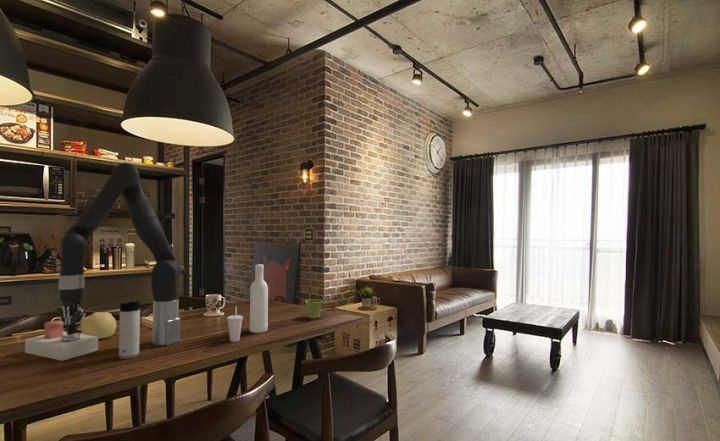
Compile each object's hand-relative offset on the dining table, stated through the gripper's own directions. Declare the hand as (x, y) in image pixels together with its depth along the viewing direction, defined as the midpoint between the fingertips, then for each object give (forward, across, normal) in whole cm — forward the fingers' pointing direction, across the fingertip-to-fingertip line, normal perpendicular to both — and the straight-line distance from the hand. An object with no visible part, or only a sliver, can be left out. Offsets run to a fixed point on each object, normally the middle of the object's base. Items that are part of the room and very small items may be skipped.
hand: (70, 334), depth 136 cm
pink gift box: (+2, +10, 0) cm, 11 cm away
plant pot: (+8, -56, -84) cm, 101 cm away
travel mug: (+7, -23, -6) cm, 25 cm away
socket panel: (+7, +5, 0) cm, 9 cm away
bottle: (+8, -45, -52) cm, 69 cm away
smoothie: (+8, -45, -36) cm, 58 cm away
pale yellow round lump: (+7, +10, -17) cm, 21 cm away
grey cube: (+7, 0, 0) cm, 7 cm away
